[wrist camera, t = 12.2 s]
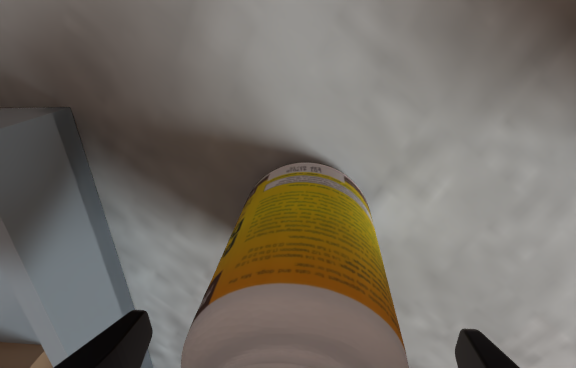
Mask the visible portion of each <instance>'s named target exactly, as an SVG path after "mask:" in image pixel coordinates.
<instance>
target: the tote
mask: <svg viewBox="0 0 576 368" xmlns="http://www.w3.org/2000/svg"><path fill="white" fill-rule="evenodd" d="M132 310H135V308H134V305H133V302H132V299H131V296H130V293H129V290H128V287H127V284H126V280H125V277H124V274H123V271H122V268H121V265H120V262H119V259H118V255H117V252H116V249H115V246H114V243H113V240H112V237H111V234H110V231H109V227H108V224H107V221H106V218H105V215H104V212H103V209H102V206H101V202H100V199H99V196H98V193H97V190H96V187H95V184H94V181H93V177H92V174H91V171H90V168H89V165H88V162H87V159H86V156H85V153H84V149H83V146H82V143H81V140H80V137H79V134H78V131H77V128H76V124H75V121H74V118H73V115H72V112H71V109H70V107H56V108H0V342H8V343H22V344H36V345H42V347H43V349H44V351H45V353H46V355H47V357H48V359H49V361H50V362H51V364H52V366H53V367H55V366H56V365H57V364H59V363H60V362H62V361H63V360H64V359H66V358H67V357H68V356H70V355H71V354H72V353H74V352H75V351H77V350H78V349H79V348H81V347H82V346H83V345H85V344H86V343H87V342H89V341H90V340H92V339H93V338H94V337H96V336H97V335H98V334H100V333H101V332H102V331H104V330H105V329H107V328H108V327H109V326H111V325H112V324H113V323H115V322H116V321H117V320H119V319H120V318H122V317H123V316H124V315H126V314H127V313H128V312H130V311H132ZM141 368H153V365H152V362H151V358H150V355H149V352H148V349H147V352H146V355H145V357H144V360H143V363H142V366H141Z"/></svg>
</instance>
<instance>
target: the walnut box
mask: <svg viewBox="0 0 576 368" xmlns="http://www.w3.org/2000/svg"><path fill="white" fill-rule="evenodd" d="M0 368H53V366H52V364H51V362H50V361H49V359H48V357H47V355H46V353H45V351H44V349H43V347H42V345H36V344H22V343H8V342H0Z"/></svg>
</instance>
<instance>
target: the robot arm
mask: <svg viewBox="0 0 576 368" xmlns="http://www.w3.org/2000/svg"><path fill="white" fill-rule="evenodd" d="M151 338H152V326H151V323H150V320H149V316H148V313H147V312H146V311H144V310H132V311H130V312H128V313H127V314H126V315H124V316H123V317H122V318H120V319H119V320H117V321H116V322H115V323H113V324H112V325H111V326H109V327H108V328H107V329H105V330H104V331H102V332H101V333H100V334H98V335H97V336H96V337H94V338H93V339H92V340H90V341H89V342H87V343H86V344H85V345H83V346H82V347H81V348H79V349H78V350H77V351H75V352H74V353H72V354H71V355H70V356H68V357H67V358H66V359H64V360H63V361H62V362H60V363H59V364H57V365H56V366H55V367H53V368H141V366H142V363H143V360H144V357H145V355H146V352H147V349H148V346H149V343H150V341H151ZM455 357H456V361H457V365H458V368H520V367H518V366H517V365H516V364H515V363H514V362H513V361H512V360H511V359H510V358H509V357H508V356H506V355H505V354H504V353H503V352H502V351H501V350H500V349H499V348H498V347H497V346H496V345H494V344H493V343H492V342H491V341H490V340H489V339H488V338H487V337H486V336H485V335H484V334H482V333H481V332H480V331H478V330H476V329H462V330H461V331H460V333H459V337H458V341H457V344H456V348H455Z"/></svg>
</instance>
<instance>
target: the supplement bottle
mask: <svg viewBox="0 0 576 368" xmlns="http://www.w3.org/2000/svg"><path fill="white" fill-rule="evenodd" d="M181 368H409V366H408V361H407V356H406V352H405V347H404V344H403V340H402V336H401V332H400V328H399V324H398V320H397V317H396V313H395V309H394V305H393V301H392V297H391V293H390V289H389V285H388V281H387V277H386V273H385V269H384V265H383V261H382V257H381V253H380V249H379V245H378V241H377V237H376V233H375V229H374V225H373V221H372V217H371V213H370V210H369V207H368V203H367V201H366V199H365V197H364V195H363V193H362V192H361V190H360V189H359V187H358V186H357V185H356V184H355V183H354V182H353V181H352V180H351V179H350V178H349V177H348V176H346V175H345V174H343V173H342V172H340V171H338V170H336V169H334V168H332V167H329V166H326V165H322V164H317V163H294V164H290V165H286V166H283V167H280V168H278V169H276V170H274V171H272V172H270V173H269V174H267V175H266V176H265V177H263V178H262V179H261V180H260V181H259V182H258V183H257V185H256V186H255V187H254V189H253V190H252V192H251V193H250V195H249V197H248V199H247V201H246V204H245V206H244V208H243V210H242V212H241V214H240V217H239V219H238V221H237V224H236V226H235V228H234V230H233V233H232V235H231V237H230V239H229V242H228V244H227V246H226V248H225V251H224V253H223V255H222V257H221V259H220V262H219V264H218V267H217V269H216V271H215V274H214V276H213V278H212V280H211V283H210V285H209V287H208V289H207V291H206V293H205V295H204V298H203V300H202V303H201V305H200V307H199V309H198V311H197V313H196V316H195V318H194V320H193V322H192V325H191V327H190V330H189V332H188V335H187V337H186V340H185V343H184V347H183V352H182V359H181Z"/></svg>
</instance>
